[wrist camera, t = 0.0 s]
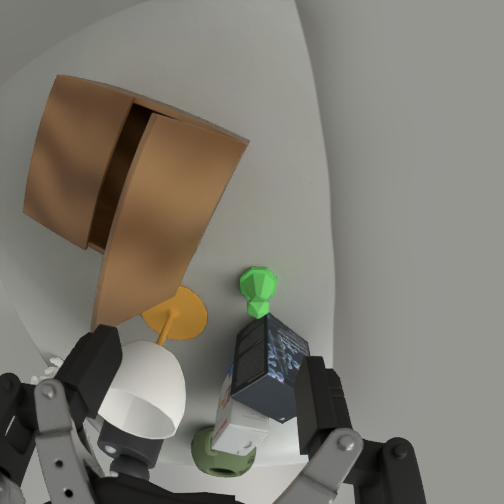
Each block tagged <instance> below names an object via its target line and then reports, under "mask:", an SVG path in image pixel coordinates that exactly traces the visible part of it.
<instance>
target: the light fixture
mask: <svg viewBox="0 0 504 504" xmlns="http://www.w3.org/2000/svg"><path fill="white" fill-rule="evenodd" d="M163 440H164V439H149V438H144V437H139V436H135V435H133V434H130V433H128V432H125V431H123V430H121V429H119V428H117V427H116V426H114V425H112V424H111V423H109V422H108V421H106V420H105V421H104V423H103V426H102V429H101V432H100V435H99V439H98V442H97V445H98V447H99V448H100V449H101V450H102V451H103V452H104V453H106V454H107V455H108V456H110V457H112V458H114V460H113V461H112V463H111V465H110V475H111V476H112V477H114V476H116V477H117V476H118V473H119V472H122V473H125V474H128V475H131V476H134V477H138V478H141V479H145V480H147V481H149V477H150V476H149V471H148V469H152V468H154V467H155V464H156V461H157V458H158V455H159V452H160V449H161V446H162V443H163Z"/></svg>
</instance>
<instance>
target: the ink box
mask: <svg viewBox="0 0 504 504" xmlns="http://www.w3.org/2000/svg"><path fill="white" fill-rule="evenodd" d="M233 365H234V362H233V364H232V366H231V368H230V370H229V372H228V374H227V376H226V378H225V380H224V382H223V384H222V386H221V391H220V397H219V403H218V409H217V415H216V421H215V427H214V433H213V439H212V445H211V449H214V450H218V451H223V452H227V453H231V454H235V455H240V456H246V455H247V454H248V453H249V452H250V451H251V450H253V449H254V448H255V447H256V446H257V445H258V444H259V443H260V442H261V441H262V440H263V439H264V438H265V437H267V434H266V433H267V432H268V431H269V417H268V416H266V415H264V414H262V413H260V412H258V411H256V410H254V409H252V408H250V407H248V406H246V405H244V404H242V403H240V402H238V401H235V400H234V399H231V398H230V390H231V382H232V373H233Z"/></svg>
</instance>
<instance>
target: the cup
mask: <svg viewBox="0 0 504 504" xmlns="http://www.w3.org/2000/svg"><path fill="white" fill-rule="evenodd" d="M141 314H142V317H143V319H144V320H145V321H146V323H147V324H148V326H149V327H150V328H151V329H153V330H154V331H155V332H157V333H158V334H159V337H158V339H157V342H156V343H154V342H149V341H140V340H138V341H134V342H131V343H128V344H126V345H124V346H122V347H121V348H122V352H123V358H122V363H121V365H120V367H119V369H118V371H117V373H116V375H115V377H114V379H113V381H112V383H111V386H110V388H109V390H108V392H107V394H106V396H105V398H104V400H103V402H102V404H101V407H100V409H99V411H98V414H100V415H101V416H102V417H103V418H104V419H105V420H106V421H108V422H109V423H111V424H112V425H114V426H116V427H117V428H119V429H121V430H123V431H125V432H128V433H130V434H133V435H135V436H139V437H144V438H149V439H166V438H168V437H171V436H173V435H174V434H175V432H176V430H177V428H178V426H179V423H180V421H181V419H182V417H183V414H184V410H185V402H186V389H185V381H184V377H183V373H182V370H181V367H180V364H179V361H178V360H177V359H176V358H175V356H174V355H173V354H172V353H171V352H170V351H168V350H167V349H166V348H164V347H163V344H164V342H165V339H166V337H167V338H169V339H172V340H188V339H192V338H195V337H197V336H198V335H199V334H200V333H201V332H203V331H204V329H205V326H206V324H207V321H208V318H207V310H206V307H205V306H204V304H203V302H202V301H201V299H200V297H198V296H197V295H196V294H195V293H193V292H192V291H191V290H190V289H188V288H186V287H184V286H181V285H179V287H178V290H177V292H176V294H175V297H173V298H171V299H169V300H167V301H165V302H163V303H160V304H158V305H156V306H154V307H152V308H150V309H148V310H146V311H144V312H142V313H141Z"/></svg>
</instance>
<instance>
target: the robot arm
mask: <svg viewBox="0 0 504 504" xmlns="http://www.w3.org/2000/svg"><path fill="white" fill-rule="evenodd" d="M122 358H123V352H122V348H121V343H120V339H119V334H118V330H117V328H116V327H113V326H108V325H104V324H99V325H98V326H97V328H96V329H95V331H94V332H93V333H90V332H88V333H87V334H86V335H84V336H83V337H81V338H80V339H79V341H78V342H77V343H76V345H75V348H73V349H72V351H71V352H70V354H69V355H68V356H67V358H66V359H65V361H64V362H63V364H62V365H61V367H60V368H59V370H58V371H57V373H56V374H55V376H54V377H53V378H48V379H44V380H42V381H40V382H39V383H38V384H37V385H34V384H25V383H21V382H20V380H19V378H18V377H17V376H16V375H15V374H13V373H5V374H2V375H1V376H0V504H25V503H26V501H25V498H24V497H23V493H22V491H21V489H20V487H21V484H22V481H23V478H24V475H25V472H26V469H27V467H28V464H29V461H30V458H31V456H32V454H33V451H34V448H35V446H36V447H37V452H38V456H39V461H40V465H41V469H42V473H43V477H44V480H45V484H46V487H47V490H48V493H49V496H50V499H51V501H49V502H46V503H44V504H244V503H242V502H239V501H236V500H235V495H224V494H216V493H208V492H198V493H172V492H170V491H167V490H165V489H163V488H161V487H159V486H157V485H155V484H153V483H151V482H149V481H147V480H145V479H141V478H138V477H134V476H131V475H128V474H125V473H122V472H119V473H118V476H117V477H116V476H114V477H106V476H105V474H104V472H103V470H102V468H101V467H100V465H99V463H98V461H97V459H96V457H95V454H94V451H93V449H92V446H91V443H90V440H89V437H88V434H87V430H86V427H85V424H84V420H85V418H86V416H87V417H90V418H92V419H95V417H96V415H97V413H98V411H99V409H100V407H101V404H102V402H103V400H104V398H105V396H106V394H107V392H108V390H109V388H110V386H111V383H112V381H113V379H114V377H115V375H116V373H117V371H118V369H119V367H120V365H121V363H122ZM294 394H295V404H296V415H297V425H298V436H299V448H300V455H308V458H309V462H308V463H307V465H306V466H305V467H304V468H303V470H302V471H301V472H300V473H299V474H298V476H297V477H296V478H295V479H294V481H293V482H292V483H291V484H290V485H289V486H288V488H286V490H285V491H284V492H283V493H282V494H281V495H280V496H279V497H278V498H277V499H276V500H275V501H274V502H273V504H332V502H333V501H334V499H335V498H336V496H337V490H338V489H339V487H340V486H341V484H342V483H347V484H353V486H354V496H355V504H426V499H425V494H424V490H423V485H422V480H421V476H420V472H419V468H418V464H417V460H416V456H415V453H414V448H413V446H412V444H411V443H410V442H409V441H408V440H406V439H404V438H400V437H395V438H392V439H390V440H388V441H387V442H386V443H380V442H373V441H368V440H365V439H363V438H361V436H360V435H359V433H357V432H356V431H354V430H353V428H352V425H351V421H350V417H349V412H348V409H347V404H346V400H345V398H344V392H343V390H342V385H341V381H340V377H339V376H338V375H337V374H336V372H335V371H334V370H333V369H326V368H325V364H324V360H323V357H322V356H304V357H303V359H302V362H301V365H300V368H299V371H298V373H297V376H296V379H295V385H294ZM13 416H15V418H14V420H13V422H12V424H11V426H10V428H9V430H8V432H7V435H6V436H5V434H6V430H7V428H8V426H9V424H10V422H11V420H12V418H13Z"/></svg>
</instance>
